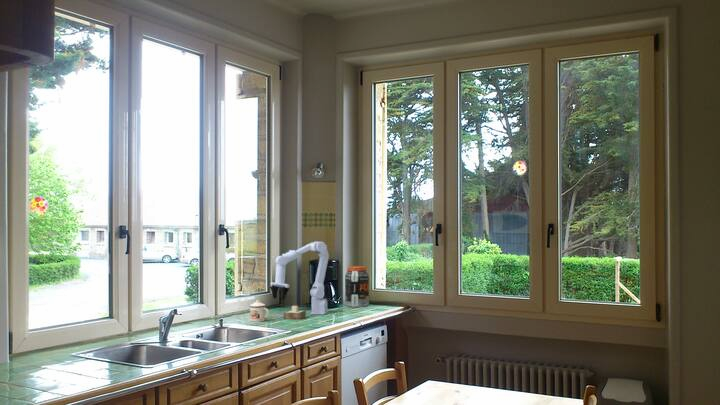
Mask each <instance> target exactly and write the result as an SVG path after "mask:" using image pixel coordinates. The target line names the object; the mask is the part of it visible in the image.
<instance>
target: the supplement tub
mask: <svg viewBox="0 0 720 405" xmlns="http://www.w3.org/2000/svg"><path fill="white" fill-rule="evenodd" d="M346 271H347V272H346V273H345V275H344V280H345V281H344V284H345V285H344V286H345V288H344V290H345V291H344V292H345V294H344V295H345V298H344V299H345V303H344V304H345V305H346V306H347V307H348V308H349V307H351V308H361V307H362V308H363V307H368V306H369V305H370V286H369V285H370V281H369V280H370V277H369V273H368V272H367V266H364V265H363V266H361V265H358V266H347V270H346Z"/></svg>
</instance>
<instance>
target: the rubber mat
mask: <svg viewBox="0 0 720 405" xmlns="http://www.w3.org/2000/svg"><path fill="white" fill-rule="evenodd" d="M268 317H269V318H284V313H283V314H279V313H277V314H276V313H275V314H273V315H272V314H271V315H268Z"/></svg>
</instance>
